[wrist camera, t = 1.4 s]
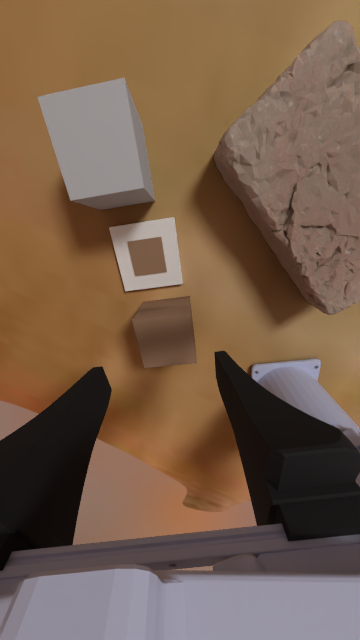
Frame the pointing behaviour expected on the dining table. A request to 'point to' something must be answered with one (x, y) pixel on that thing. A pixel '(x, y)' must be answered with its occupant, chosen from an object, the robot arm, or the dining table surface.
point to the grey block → (99, 145)
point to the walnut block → (165, 332)
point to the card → (147, 254)
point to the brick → (306, 168)
